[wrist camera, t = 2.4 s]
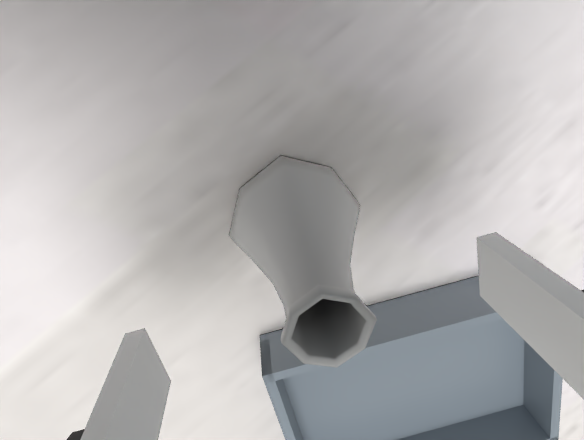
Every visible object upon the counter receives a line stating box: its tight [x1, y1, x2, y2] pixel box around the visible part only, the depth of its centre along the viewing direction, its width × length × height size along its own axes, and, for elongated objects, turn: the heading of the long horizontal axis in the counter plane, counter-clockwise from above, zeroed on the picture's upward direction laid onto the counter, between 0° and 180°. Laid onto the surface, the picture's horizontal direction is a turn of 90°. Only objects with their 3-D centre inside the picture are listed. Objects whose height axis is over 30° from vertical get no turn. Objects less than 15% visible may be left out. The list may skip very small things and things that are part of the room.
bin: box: [260, 276, 563, 440], centre depth 27 cm, size 13×18×4 cm
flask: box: [229, 156, 377, 368], centre depth 18 cm, size 7×7×10 cm
